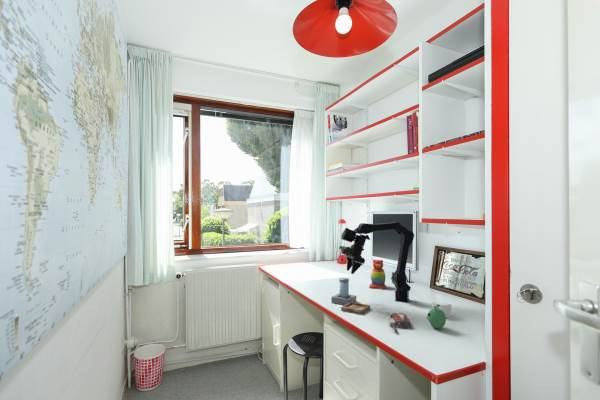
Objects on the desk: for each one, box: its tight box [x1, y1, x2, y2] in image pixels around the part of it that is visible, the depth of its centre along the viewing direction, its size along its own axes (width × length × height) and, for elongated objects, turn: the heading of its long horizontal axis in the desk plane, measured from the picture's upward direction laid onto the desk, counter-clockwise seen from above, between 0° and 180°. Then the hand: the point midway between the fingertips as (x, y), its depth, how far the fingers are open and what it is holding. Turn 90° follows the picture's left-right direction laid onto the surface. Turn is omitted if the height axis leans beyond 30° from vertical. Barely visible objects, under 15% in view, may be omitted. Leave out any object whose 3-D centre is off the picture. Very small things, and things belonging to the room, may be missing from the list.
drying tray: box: [340, 302, 371, 315], centre depth 163 cm, size 11×11×2 cm
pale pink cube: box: [431, 300, 452, 318], centre depth 155 cm, size 6×6×6 cm
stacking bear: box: [369, 259, 387, 290], centre depth 211 cm, size 11×10×18 cm
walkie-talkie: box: [388, 312, 412, 333], centre depth 141 cm, size 9×4×20 cm
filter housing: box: [331, 292, 357, 306], centre depth 177 cm, size 10×10×3 cm
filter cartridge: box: [338, 277, 350, 298], centre depth 177 cm, size 5×5×12 cm
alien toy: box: [426, 304, 447, 330], centre depth 139 cm, size 7×8×10 cm
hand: (349, 272), depth 177 cm, fingers open, 9 cm apart
